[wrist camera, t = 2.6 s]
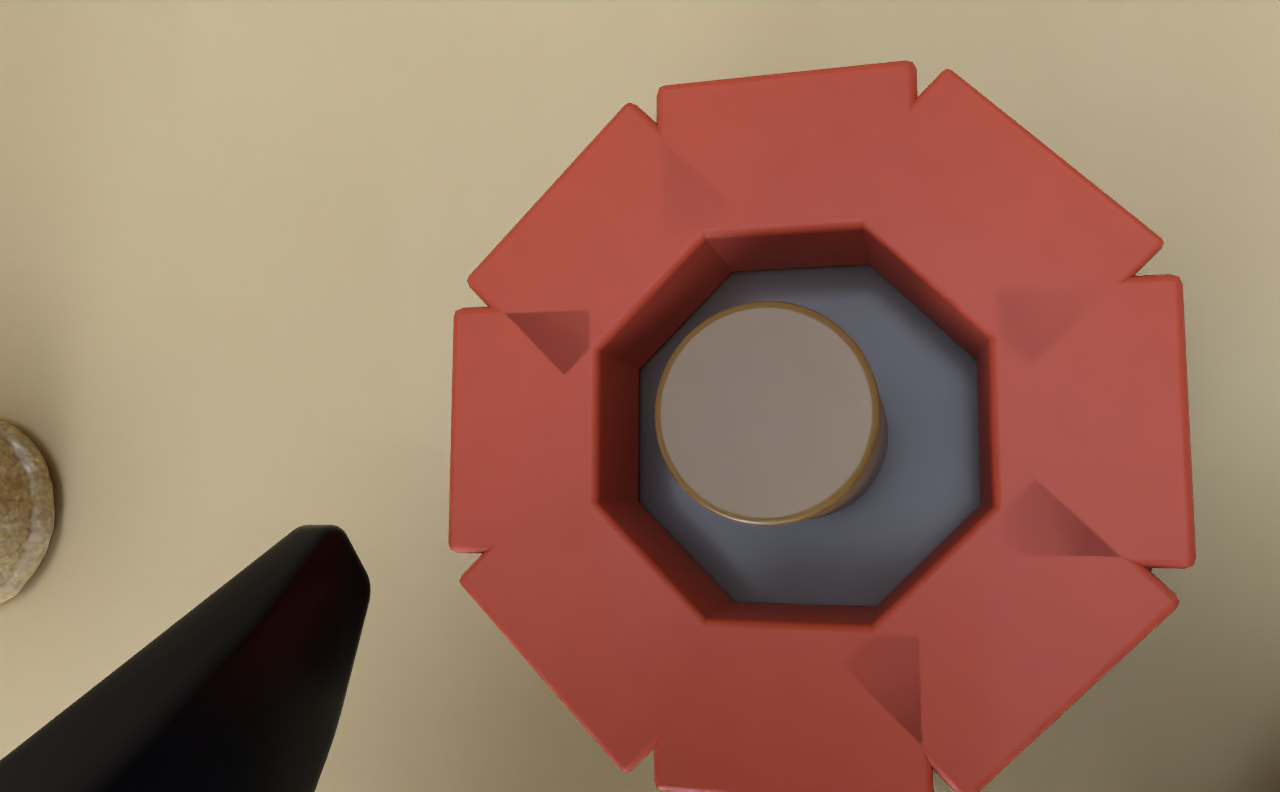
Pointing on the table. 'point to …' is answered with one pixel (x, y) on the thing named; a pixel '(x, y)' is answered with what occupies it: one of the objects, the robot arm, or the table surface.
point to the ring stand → (809, 436)
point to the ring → (1007, 417)
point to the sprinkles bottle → (22, 510)
